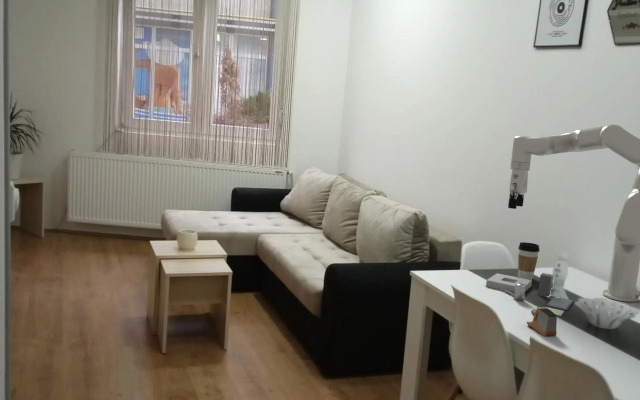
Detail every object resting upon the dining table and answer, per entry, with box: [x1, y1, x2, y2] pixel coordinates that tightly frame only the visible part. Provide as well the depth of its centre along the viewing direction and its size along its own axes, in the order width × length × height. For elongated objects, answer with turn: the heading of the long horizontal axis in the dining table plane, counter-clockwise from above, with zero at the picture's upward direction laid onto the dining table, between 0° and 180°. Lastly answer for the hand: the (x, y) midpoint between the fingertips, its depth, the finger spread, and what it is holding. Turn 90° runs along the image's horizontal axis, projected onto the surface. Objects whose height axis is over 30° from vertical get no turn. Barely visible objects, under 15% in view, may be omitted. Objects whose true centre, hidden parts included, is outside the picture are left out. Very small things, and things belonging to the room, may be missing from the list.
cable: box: [501, 289, 514, 298], centre depth 223 cm, size 8×1×1 cm, turn 19°
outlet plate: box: [485, 272, 533, 293], centre depth 233 cm, size 14×14×2 cm
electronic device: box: [525, 306, 558, 337], centre depth 184 cm, size 4×10×8 cm, turn 17°
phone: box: [544, 296, 575, 312], centre depth 214 cm, size 7×14×1 cm, turn 147°
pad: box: [546, 307, 565, 317], centre depth 204 cm, size 6×6×1 cm
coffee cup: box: [517, 241, 540, 281], centre depth 246 cm, size 8×8×15 cm
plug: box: [513, 283, 526, 303], centre depth 215 cm, size 4×4×6 cm
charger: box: [537, 272, 554, 298], centre depth 223 cm, size 4×4×8 cm
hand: (515, 207), depth 245 cm, fingers open, 9 cm apart
